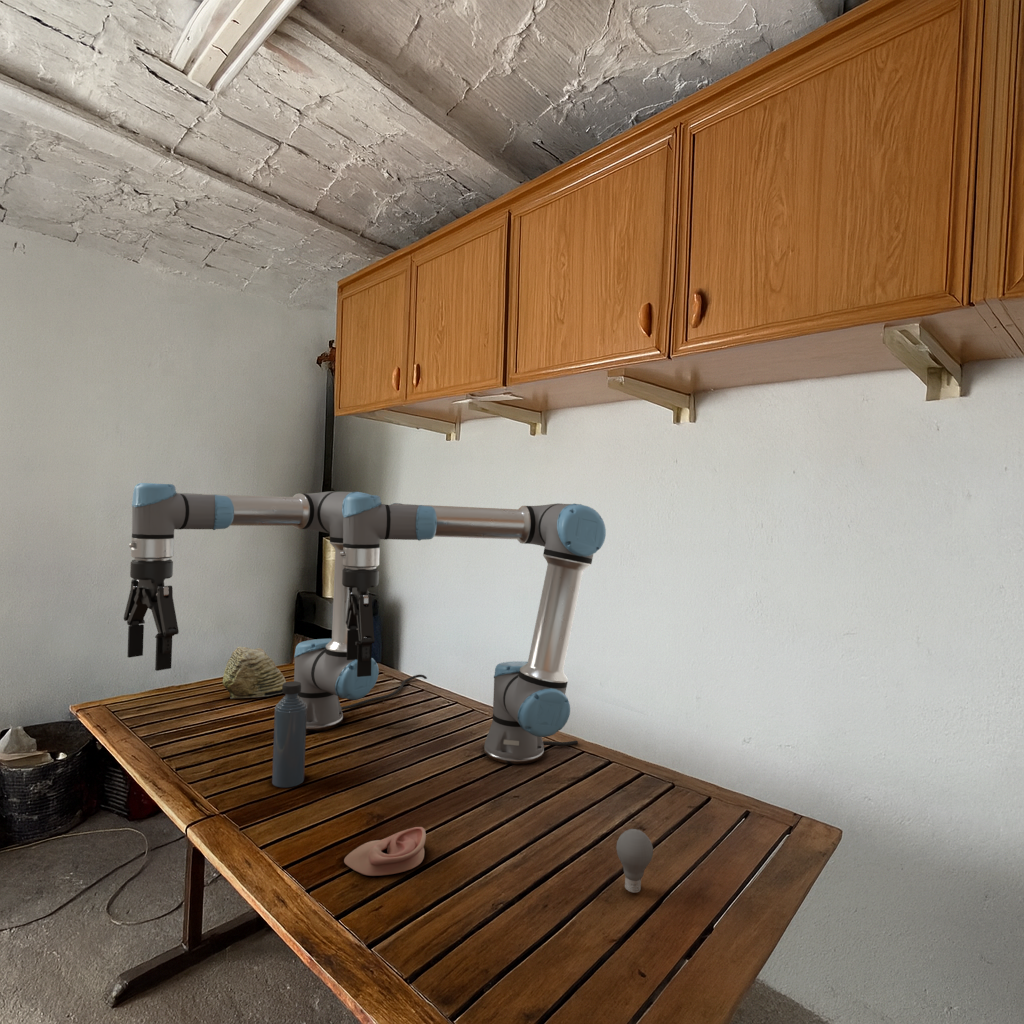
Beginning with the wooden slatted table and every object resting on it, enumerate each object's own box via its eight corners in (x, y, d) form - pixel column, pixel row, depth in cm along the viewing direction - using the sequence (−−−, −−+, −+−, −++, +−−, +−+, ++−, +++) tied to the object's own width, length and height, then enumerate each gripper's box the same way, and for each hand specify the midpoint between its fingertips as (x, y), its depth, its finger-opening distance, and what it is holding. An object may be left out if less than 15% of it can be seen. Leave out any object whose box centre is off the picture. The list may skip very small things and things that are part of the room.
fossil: (218, 695, 195) (220, 647, 195) (278, 685, 208) (279, 640, 207) (228, 703, 189) (230, 653, 188) (289, 692, 201) (290, 645, 201)
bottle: (290, 771, 145) (293, 679, 145) (310, 779, 142) (314, 684, 141) (265, 782, 139) (268, 686, 139) (286, 790, 136) (289, 692, 136)
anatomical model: (336, 847, 108) (365, 815, 119) (335, 870, 108) (364, 836, 119) (410, 859, 105) (432, 825, 116) (409, 883, 105) (431, 846, 116)
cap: (292, 688, 143) (292, 680, 143) (304, 691, 141) (305, 683, 141) (278, 692, 139) (278, 684, 139) (290, 695, 137) (290, 687, 137)
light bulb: (610, 879, 108) (613, 822, 108) (644, 879, 109) (647, 822, 109) (619, 902, 102) (622, 840, 102) (655, 901, 103) (658, 840, 103)
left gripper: (108, 554, 134) (104, 654, 134) (159, 565, 118) (155, 678, 119) (146, 552, 140) (143, 648, 140) (199, 563, 124) (195, 671, 124)
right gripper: (334, 561, 144) (332, 654, 144) (352, 575, 121) (349, 685, 121) (367, 561, 147) (365, 652, 147) (391, 574, 124) (388, 682, 124)
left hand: (148, 662), depth 129 cm, fingers open, 13 cm apart
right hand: (358, 667), depth 134 cm, fingers open, 13 cm apart
